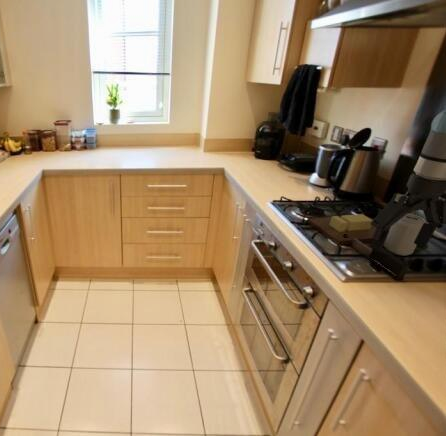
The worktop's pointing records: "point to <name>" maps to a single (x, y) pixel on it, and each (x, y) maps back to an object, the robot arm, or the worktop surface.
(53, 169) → the worktop surface
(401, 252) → the can
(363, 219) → the butter
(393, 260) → the knife
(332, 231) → the board
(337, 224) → the butter slice
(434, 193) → the robot arm
